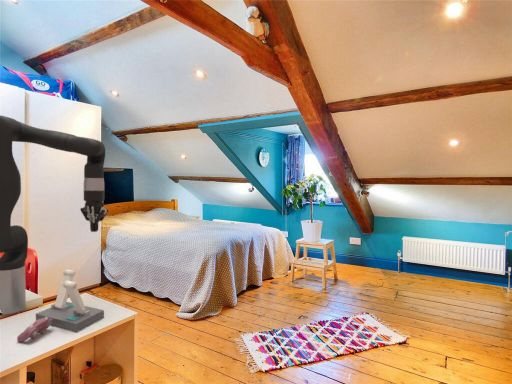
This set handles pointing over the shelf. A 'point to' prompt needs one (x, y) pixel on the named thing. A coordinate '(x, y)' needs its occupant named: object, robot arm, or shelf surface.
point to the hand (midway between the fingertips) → (94, 231)
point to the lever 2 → (74, 296)
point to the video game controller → (35, 329)
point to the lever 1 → (64, 289)
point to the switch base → (71, 317)
